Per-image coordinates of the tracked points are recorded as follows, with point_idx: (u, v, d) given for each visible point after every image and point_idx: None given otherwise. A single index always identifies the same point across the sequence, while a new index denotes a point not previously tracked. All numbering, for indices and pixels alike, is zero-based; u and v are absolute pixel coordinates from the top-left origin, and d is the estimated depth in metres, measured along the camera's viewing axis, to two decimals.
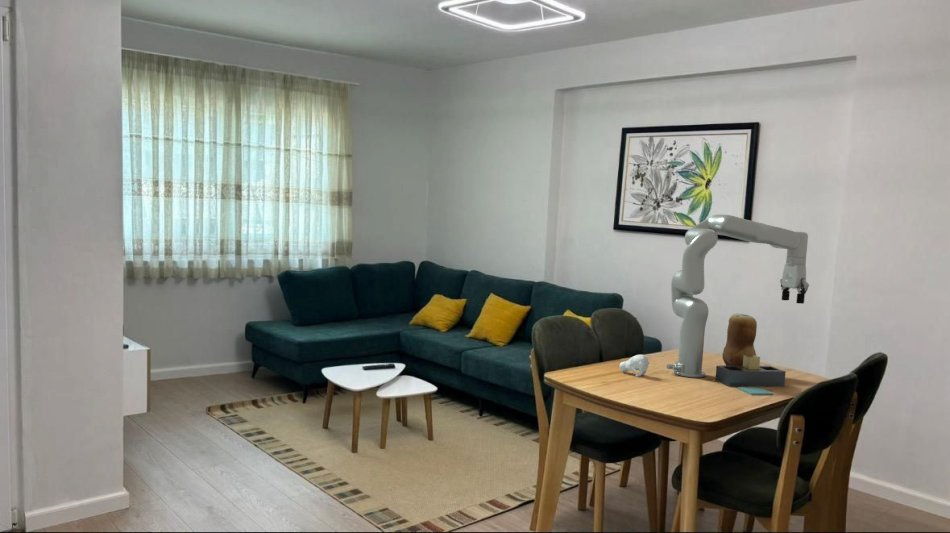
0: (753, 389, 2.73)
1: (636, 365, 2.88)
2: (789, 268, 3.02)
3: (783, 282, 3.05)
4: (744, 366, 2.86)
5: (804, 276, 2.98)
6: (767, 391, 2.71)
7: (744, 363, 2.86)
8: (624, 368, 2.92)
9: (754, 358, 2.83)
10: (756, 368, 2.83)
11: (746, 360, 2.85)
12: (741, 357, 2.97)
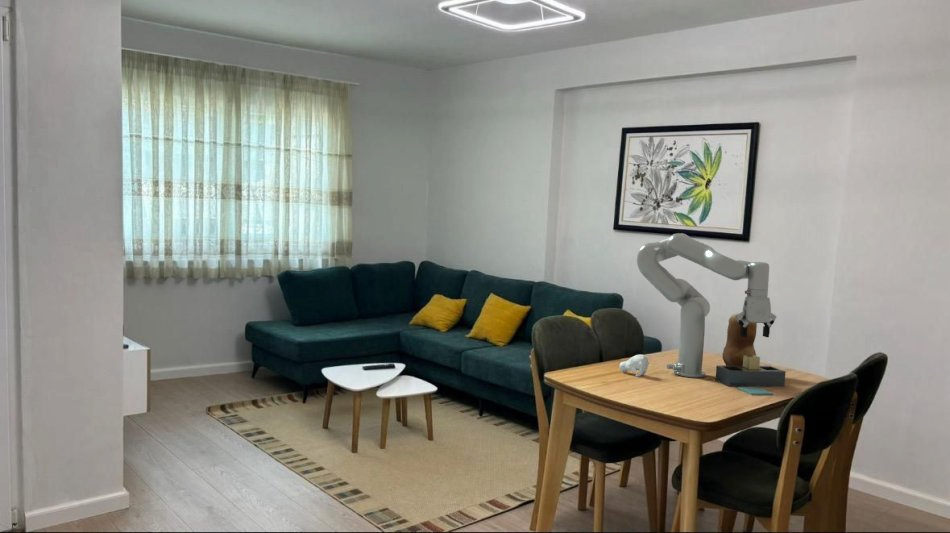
0: (753, 389, 2.73)
1: (636, 365, 2.88)
2: (761, 302, 2.80)
3: (752, 318, 2.80)
4: (744, 366, 2.86)
5: None
6: (767, 391, 2.71)
7: (744, 363, 2.86)
8: (624, 368, 2.92)
9: (754, 358, 2.83)
10: (756, 368, 2.83)
11: (746, 360, 2.85)
12: (741, 357, 2.97)
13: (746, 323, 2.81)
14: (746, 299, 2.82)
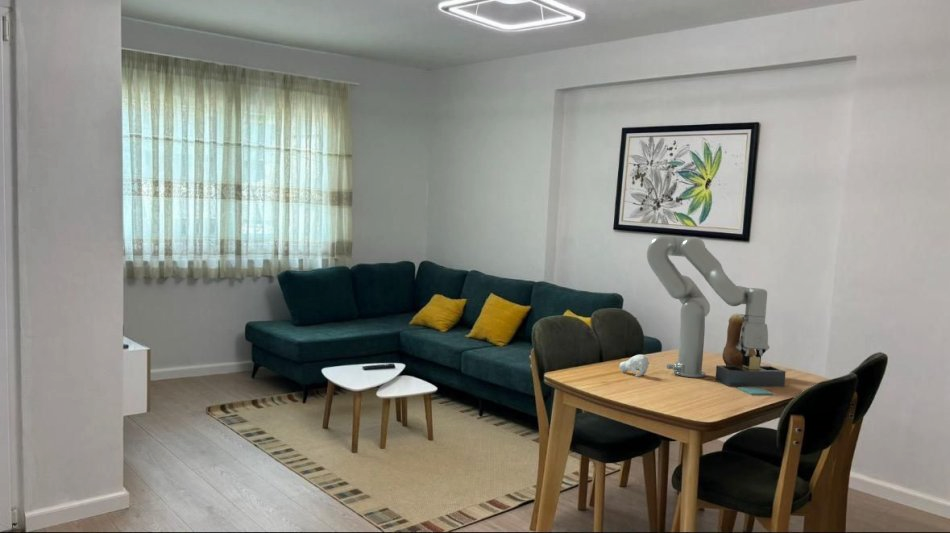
0: (753, 389, 2.73)
1: (636, 365, 2.88)
2: (758, 328, 2.81)
3: (749, 344, 2.81)
4: (744, 366, 2.86)
5: None
6: (767, 391, 2.71)
7: None
8: (624, 368, 2.92)
9: (754, 358, 2.83)
10: (756, 368, 2.83)
11: None
12: (741, 357, 2.97)
13: (747, 351, 2.83)
14: (743, 325, 2.83)
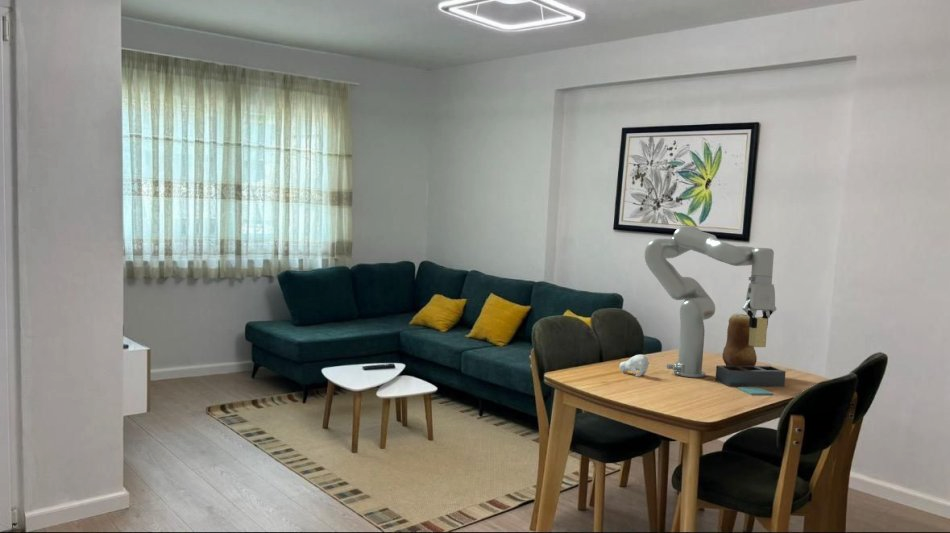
0: (753, 389, 2.73)
1: (636, 365, 2.88)
2: (765, 289, 2.73)
3: (756, 305, 2.73)
4: (751, 328, 2.77)
5: None
6: (767, 391, 2.71)
7: None
8: (624, 368, 2.92)
9: (761, 319, 2.74)
10: (764, 330, 2.75)
11: None
12: (741, 357, 2.97)
13: (754, 313, 2.74)
14: (750, 286, 2.75)
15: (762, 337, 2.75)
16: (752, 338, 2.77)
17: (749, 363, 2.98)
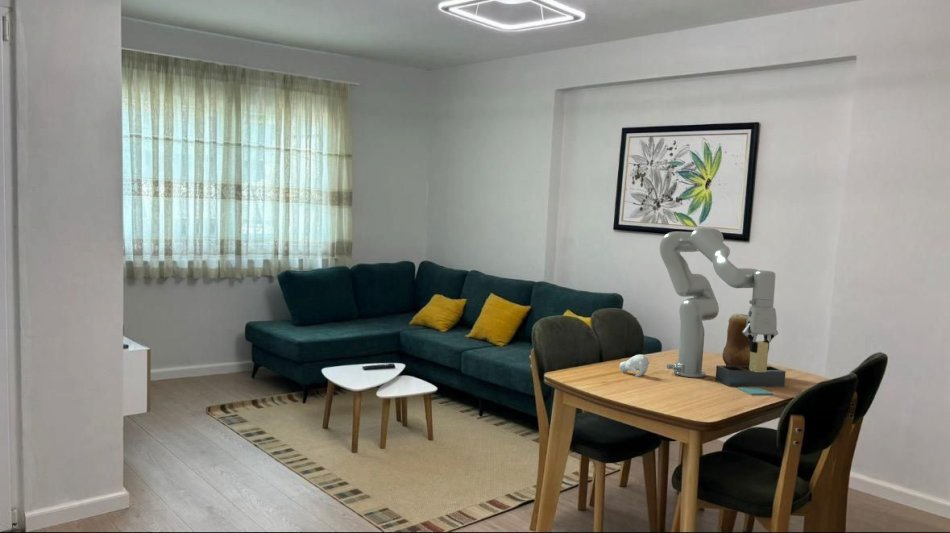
0: (753, 389, 2.73)
1: (636, 365, 2.88)
2: (766, 312, 2.67)
3: (757, 329, 2.66)
4: (752, 353, 2.71)
5: None
6: (767, 391, 2.71)
7: None
8: (624, 368, 2.92)
9: (762, 344, 2.68)
10: (764, 354, 2.68)
11: None
12: (741, 357, 2.97)
13: (755, 337, 2.68)
14: (751, 309, 2.68)
15: (763, 362, 2.69)
16: (752, 363, 2.70)
17: (749, 363, 2.98)
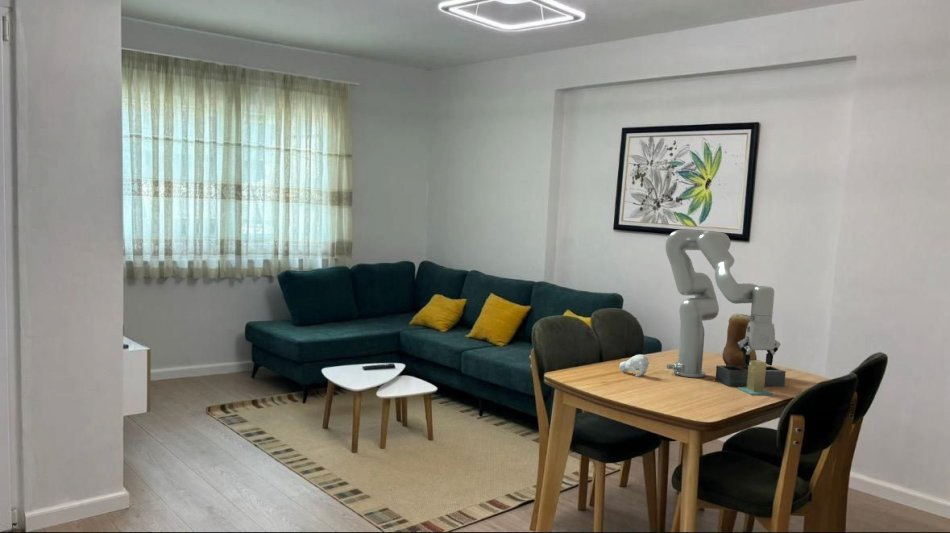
0: None
1: (636, 365, 2.88)
2: (764, 328, 2.67)
3: (755, 345, 2.67)
4: (749, 372, 2.72)
5: None
6: (767, 391, 2.71)
7: (749, 369, 2.72)
8: (624, 368, 2.92)
9: (760, 364, 2.69)
10: (762, 374, 2.69)
11: (751, 366, 2.71)
12: (741, 357, 2.97)
13: (749, 350, 2.68)
14: (749, 325, 2.69)
15: (760, 382, 2.69)
16: (750, 382, 2.71)
17: None
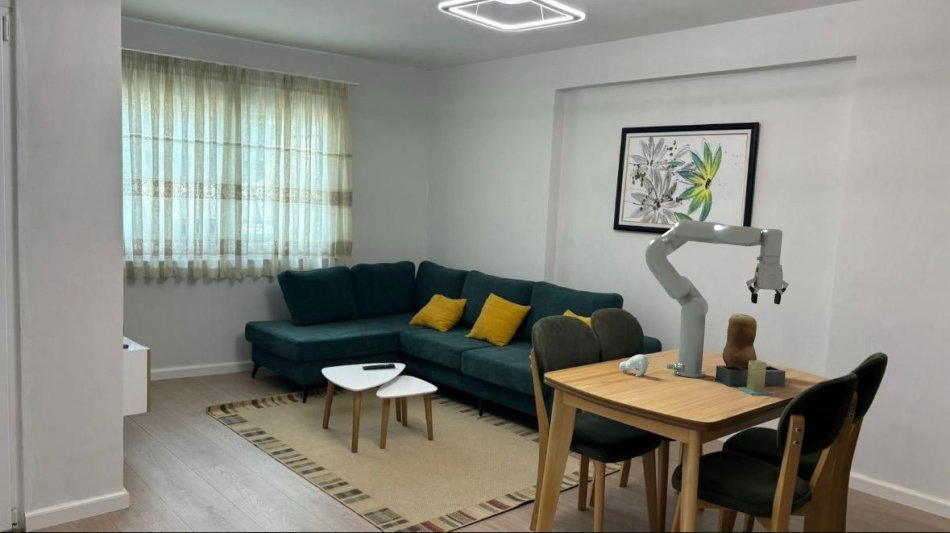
0: None
1: (636, 365, 2.88)
2: (772, 268, 2.80)
3: (763, 284, 2.80)
4: (749, 372, 2.72)
5: None
6: (767, 391, 2.71)
7: (749, 369, 2.72)
8: (624, 368, 2.92)
9: (760, 364, 2.69)
10: (762, 374, 2.69)
11: (751, 366, 2.71)
12: (741, 357, 2.97)
13: (757, 289, 2.81)
14: (758, 265, 2.82)
15: (760, 382, 2.69)
16: (750, 382, 2.71)
17: None
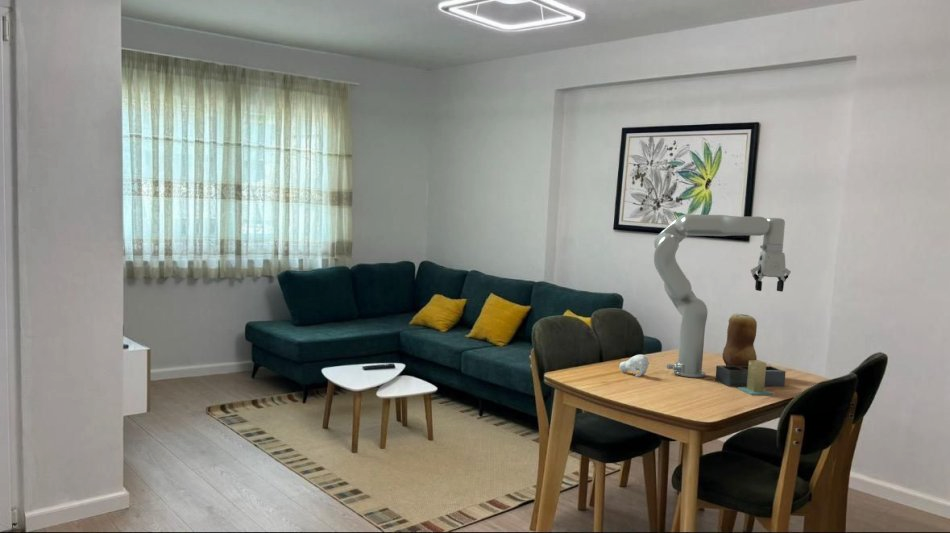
0: None
1: (636, 365, 2.88)
2: (776, 256, 2.88)
3: (767, 272, 2.88)
4: (749, 372, 2.72)
5: None
6: (767, 391, 2.71)
7: (749, 369, 2.72)
8: (624, 368, 2.92)
9: (760, 364, 2.69)
10: (762, 374, 2.69)
11: (751, 366, 2.71)
12: (741, 357, 2.97)
13: (761, 277, 2.89)
14: (761, 254, 2.90)
15: (760, 382, 2.69)
16: (750, 382, 2.71)
17: None
